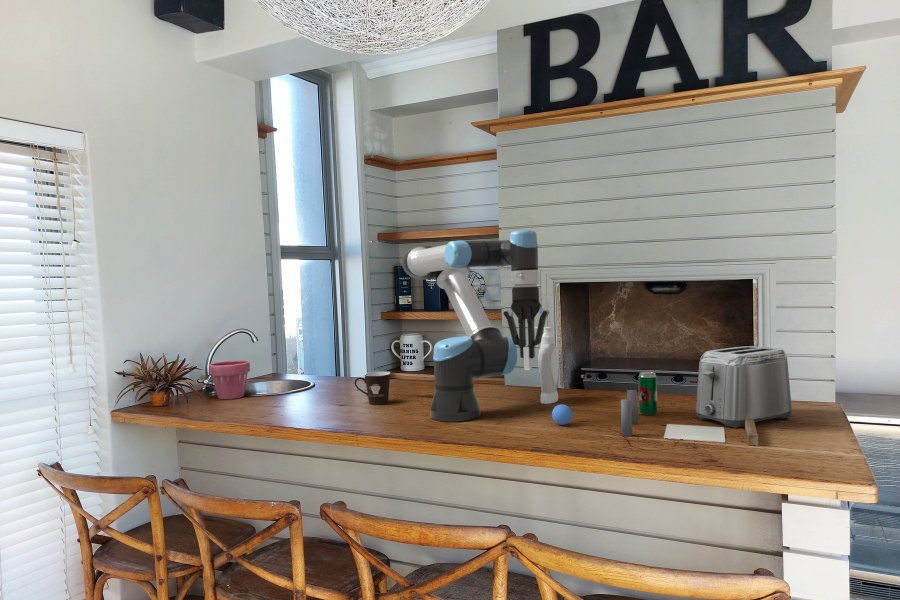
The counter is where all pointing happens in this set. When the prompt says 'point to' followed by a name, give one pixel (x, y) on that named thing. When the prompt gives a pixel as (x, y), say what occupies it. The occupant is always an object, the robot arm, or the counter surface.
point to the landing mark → (695, 433)
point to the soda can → (647, 393)
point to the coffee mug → (376, 387)
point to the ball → (562, 414)
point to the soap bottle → (548, 367)
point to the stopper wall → (751, 432)
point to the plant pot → (230, 378)
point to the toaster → (743, 385)
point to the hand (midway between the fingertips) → (528, 369)
